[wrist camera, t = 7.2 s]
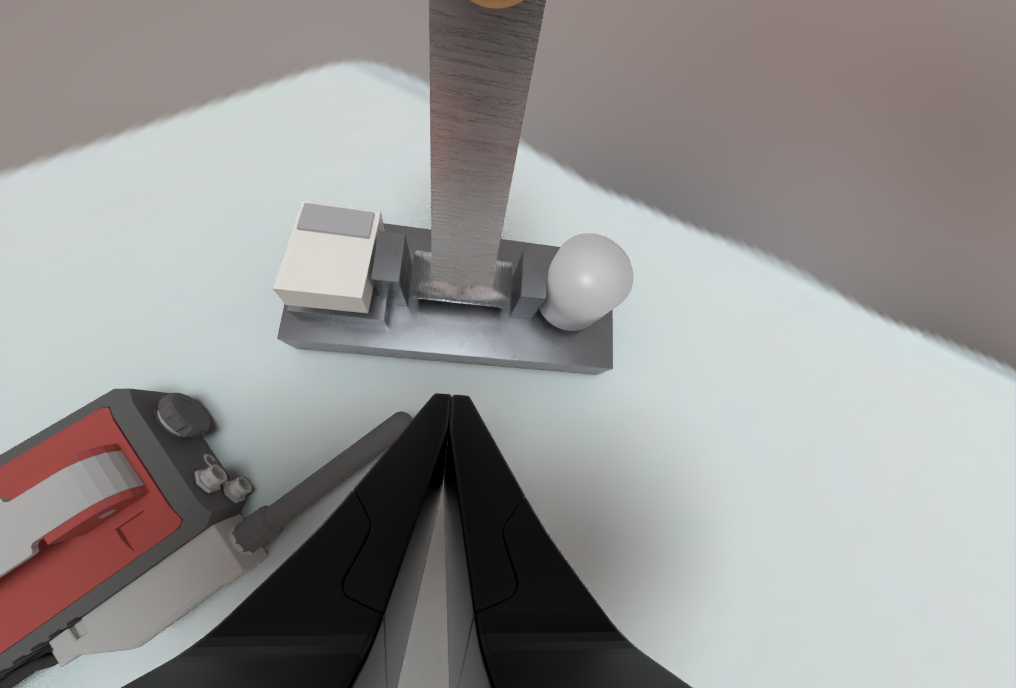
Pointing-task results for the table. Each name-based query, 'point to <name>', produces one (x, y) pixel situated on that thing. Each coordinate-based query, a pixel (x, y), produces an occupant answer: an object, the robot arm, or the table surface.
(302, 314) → the slide switch base
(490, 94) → the ball-topped post
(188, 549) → the walkie-talkie
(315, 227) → the white block
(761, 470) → the table surface
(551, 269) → the push button
